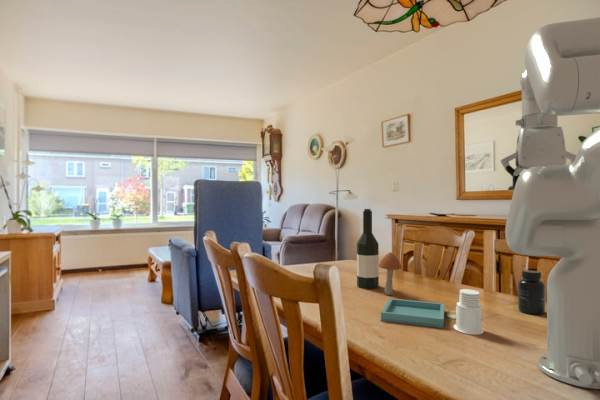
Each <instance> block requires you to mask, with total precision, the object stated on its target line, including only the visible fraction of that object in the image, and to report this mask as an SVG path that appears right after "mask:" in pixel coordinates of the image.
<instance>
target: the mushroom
mask: <svg viewBox="0 0 600 400" xmlns="http://www.w3.org/2000/svg"><path fill="white" fill-rule="evenodd" d="M380 268H381V269H384V270H386V281H385V284H384V285H385V286H384V294H385V295H386V296H393V292H394V291H393V277H394V271H395V270H396V271H398V270H401V269H402V268H403V267H402V265H401V262H400V260H399V259H398V257H397V256H396V255H395V254H394V253H393V252H388V253H387V254H385V255H384V256H383V257H382V259H380V262H379V269H380Z"/></svg>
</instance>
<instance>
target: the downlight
mask: <svg viewBox="0 0 600 400" xmlns="http://www.w3.org/2000/svg"><path fill="white" fill-rule="evenodd" d="M458 299H459V301H457V302H456V306H455V311H456V320H455V321H456V322H455V324H453V329H454V330H455V331H457V332H459V333H462V334H466V335H472V336H473V335H482V334H484V331H485V330H484V329H483V321H482V311H483V308H482V307H483V306H482V305H481V304H480V292H479V291H478V290H475V289H469V288H468V289H467V288H464V289H463V288H462V289H460V290H459V298H458Z"/></svg>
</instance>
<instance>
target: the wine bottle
mask: <svg viewBox="0 0 600 400" xmlns="http://www.w3.org/2000/svg"><path fill="white" fill-rule="evenodd" d="M362 226H363V227H362V229H363V230H362V234H361V236H360V237H359V239H358V240H357V242H356V287H358V288H359V289H363V290H364V289H365V290H374V289H378V288H379V287H380V286H379V285H380V284H379V280H380V279H379V275H380V274H379V269H380V267H379V263H380V262H379V257H380V256H379V242H378V240H377V239H376V237H375V236H374V234H373V211H372V209H371V208H364V209H363V211H362Z"/></svg>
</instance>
